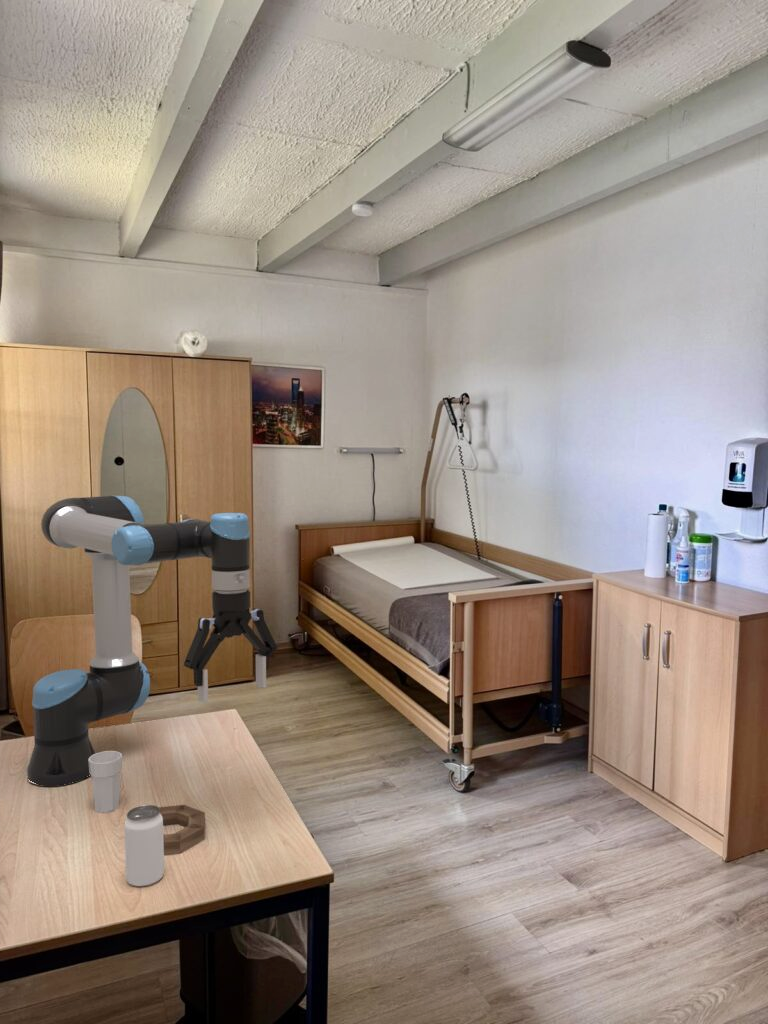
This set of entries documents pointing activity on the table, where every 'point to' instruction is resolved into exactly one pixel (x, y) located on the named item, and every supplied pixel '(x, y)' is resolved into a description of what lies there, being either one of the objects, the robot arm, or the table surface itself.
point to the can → (144, 846)
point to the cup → (105, 780)
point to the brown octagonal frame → (189, 834)
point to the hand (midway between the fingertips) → (232, 693)
